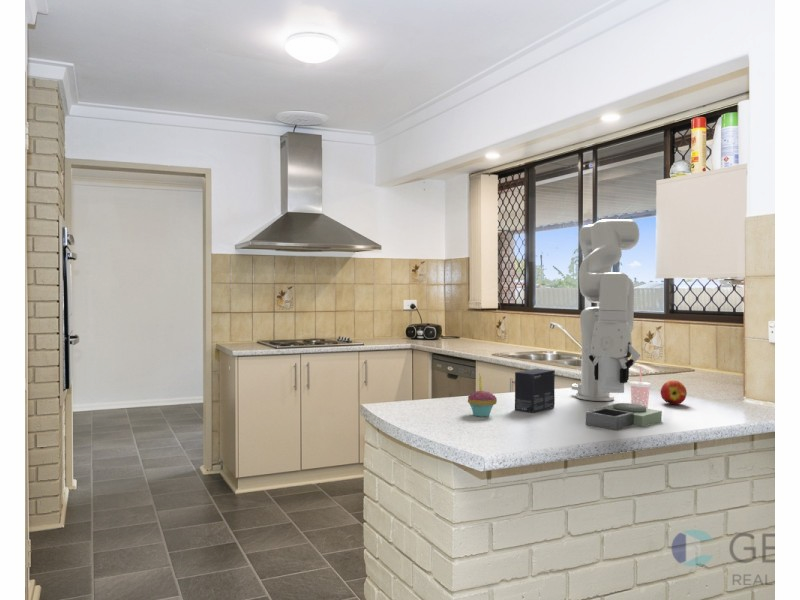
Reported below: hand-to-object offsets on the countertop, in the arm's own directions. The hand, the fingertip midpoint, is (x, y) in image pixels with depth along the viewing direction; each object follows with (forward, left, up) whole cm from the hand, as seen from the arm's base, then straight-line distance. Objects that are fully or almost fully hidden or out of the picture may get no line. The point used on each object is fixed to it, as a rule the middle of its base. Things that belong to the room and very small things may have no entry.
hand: (611, 380), depth 177 cm
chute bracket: (0, 0, -12) cm, 12 cm away
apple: (-3, +48, -13) cm, 50 cm away
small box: (-27, +3, -13) cm, 30 cm away
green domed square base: (0, +11, -12) cm, 17 cm away
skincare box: (0, 0, -3) cm, 3 cm away
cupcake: (-31, -18, -13) cm, 38 cm away
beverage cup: (-4, +26, -13) cm, 29 cm away
